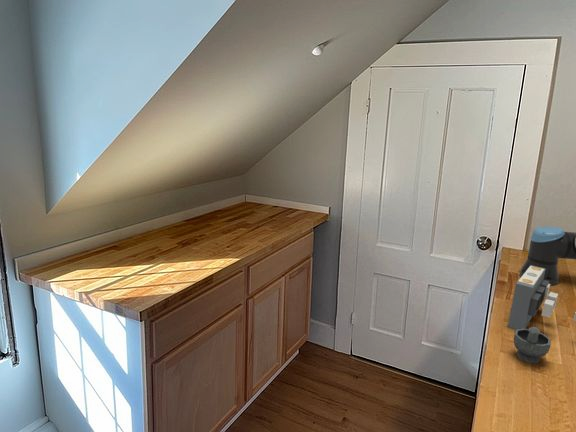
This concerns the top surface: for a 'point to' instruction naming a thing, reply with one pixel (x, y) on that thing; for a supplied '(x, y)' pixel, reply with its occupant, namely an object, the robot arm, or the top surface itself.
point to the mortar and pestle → (531, 344)
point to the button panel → (527, 297)
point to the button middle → (553, 298)
